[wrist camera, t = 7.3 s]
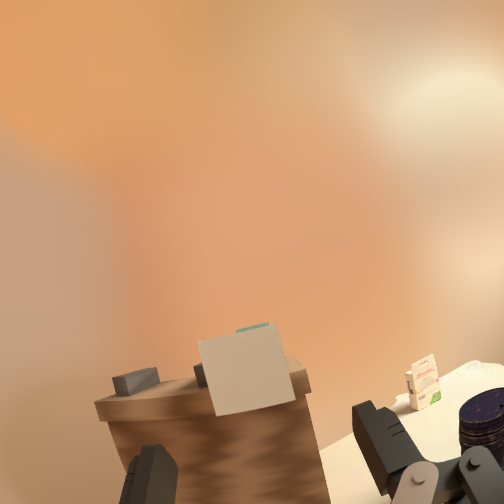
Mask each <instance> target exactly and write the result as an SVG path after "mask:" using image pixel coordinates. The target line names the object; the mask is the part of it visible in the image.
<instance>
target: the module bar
mask: <svg viewBox="0 0 504 504" xmlns="http://www.w3.org/2000/svg"><path fill="white" fill-rule="evenodd" d="M197 344H198V349H199V353H200V357H201V361H202V365H203V369H204V373H205V377H206V380H207V384H208V388H209V391H210V395H211V399H212V402H213V406H214V409H215V413H216V416H222V415H228V414H234V413H239V412H245V411H250V410H255V409H259V408H264V407H269V406H273V405H277V404H281V403H285V402H289V401H293V400H296V399H295V395H294V391H293V387H292V383H291V379H290V375H289V371H288V367H287V363H286V359H285V356H284V352H283V348H282V344H281V340H280V336H279V333H278V328H277V325H276V324H272V325H269V323H268V322H267V323H263V324H259V325H255V326H251V327H247V328H242V329H239V330H236V333H235V334H230V335H226V336H222V337H217V338H213V339H208V340H203V341H198V342H197Z"/></svg>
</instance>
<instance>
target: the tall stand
mask: <svg viewBox="0 0 504 504" xmlns="http://www.w3.org/2000/svg"><path fill="white" fill-rule="evenodd" d="M285 359H286V363H287V367H288V371H289V375H290V379H291V383H292V387H293V391H294V395H295V399H296V400H293V401H289V402H285V403H281V404H277V405H273V406H269V407H264V408H259V409H255V410H250V411H245V412H239V413H234V414H228V415H222V416H216V413H215V409H214V406H213V402H212V399H211V395H210V391H209V388H208V384H207V380H206V377H205V373H204V369H203V365H202V363H200V364H198V365H196V366H194V371H195V375H196V377H191V378H185V379H179V380H172V381H164V382H160V380H159V376H158V372H157V368H156V367H154V368H147V369H142V370H139V371H135V372H131V373H128V374H124V375H120V376H116V377H112V380H113V384H114V388H115V391H116V394H115V395H112V396H109V397H106V398H103V399H100V400H98V401H95V402H94V403H95V406H96V409H97V413H98V416H99V419H100V421H105V422H106V421H107V422H108V425H109V428H110V431H111V434H112V437H113V440H114V443H115V445H116V448H117V451H118V454H119V456H120V459H121V461H122V464H123V466H124V468H125V471H126V473H127V471H128V467H129V463H130V462H131V461H132V459H133V458H134V457H135V455H140V452H141V449H142V446H143V445H144V444H161V445H162V446H163V447H164V448H165V449H166V451H167V452H168V453H169V454H170V455H171V457H172V458H173V459H174V460H175V462H176V464H177V466H178V479H177V488H176V497H175V504H331V501H330V497H329V493H328V488H327V484H326V480H325V475H324V471H323V467H322V462H321V458H320V454H319V450H318V446H317V441H316V438H315V433H314V429H313V425H312V421H311V417H310V413H309V408H308V405H307V400H306V396H305V394H307V393H311V388H310V384H309V380H308V376H307V372H306V369H305V367H304V366H303V365H302V364H301V363H300V362H299V361H298V359H297V358H296V357H295V356H294V355H293V356H289V357H285Z"/></svg>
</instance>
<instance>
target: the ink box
mask: <svg viewBox="0 0 504 504" xmlns="http://www.w3.org/2000/svg"><path fill="white" fill-rule="evenodd" d="M425 361H427V363H425V364H423V365H421V366H419V364H421V363H422V362H425ZM411 369H412V370H411V371H408V372H406V373H405V376H406V382H407V387H408V393H409V398H410V404H411V408H413V409H415V410H418V411H419V410H421V409H423V408H425V407H426V406H428V405H430V404H432V403H434V402H436V401H437V400H439V399H441V393H440V386H439V379H438V373H437V367H436V363H435V359H434V355H433V354H431V355H429V356H427V357H425V358H423V359H421V360H419V361H417V362H415V363H413V364H411Z"/></svg>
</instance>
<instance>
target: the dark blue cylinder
mask: <svg viewBox="0 0 504 504" xmlns="http://www.w3.org/2000/svg"><path fill="white" fill-rule="evenodd" d="M459 442H460V446H461V456H462V454H463V453H464V452H465V451H466V450H468V449H469V448H471V447H474V446H483V447H485V448H487V449H488V450H489V451H490V452H491V454H492V455H493V457H494V458H495V460H496V461H497V463H498V464H499V466H500V467H501V469H502V471H503V472H504V387H502V388H495V389H491V390H487V391H485V392H482V393H480V394H478V395H476V396H474V397H472V398H471V399H469V400H468V401H467V402H465V403H464V404H463V405H462V407H461V408H460V410H459Z"/></svg>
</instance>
